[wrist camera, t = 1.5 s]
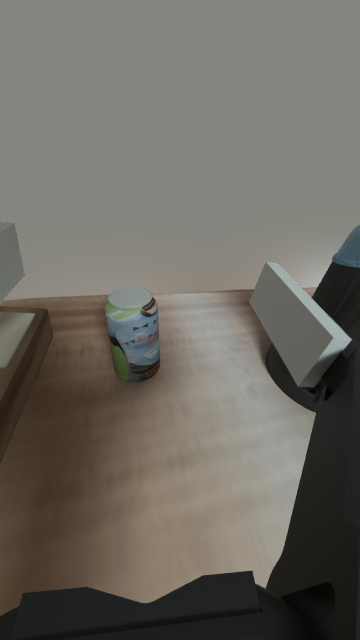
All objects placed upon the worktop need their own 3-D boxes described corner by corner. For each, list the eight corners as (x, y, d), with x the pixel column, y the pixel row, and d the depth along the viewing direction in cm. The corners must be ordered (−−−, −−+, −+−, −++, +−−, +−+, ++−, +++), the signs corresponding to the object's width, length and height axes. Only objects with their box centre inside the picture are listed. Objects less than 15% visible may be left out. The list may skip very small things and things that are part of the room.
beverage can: (148, 394, 31) (156, 322, 24) (97, 374, 32) (90, 300, 25) (165, 361, 36) (177, 292, 29) (120, 345, 37) (121, 275, 30)
